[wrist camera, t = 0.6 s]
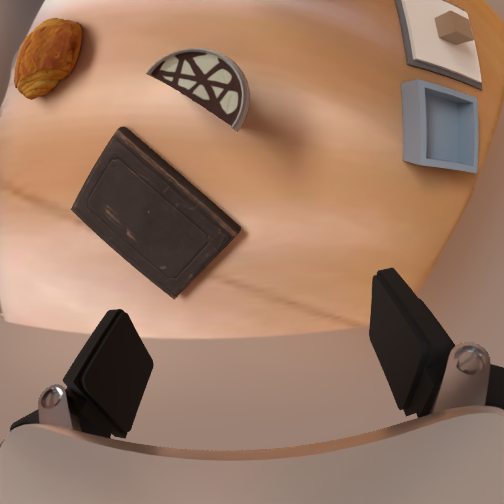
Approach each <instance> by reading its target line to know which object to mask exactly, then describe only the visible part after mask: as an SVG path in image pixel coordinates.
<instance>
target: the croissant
mask: <svg viewBox="0 0 504 504" xmlns="http://www.w3.org/2000/svg"><path fill="white" fill-rule="evenodd" d="M81 40H82V29H81V27H80V24H79V23H78V22H77V23H75V22H72V21H70V20H63V19H58V18H52V19H48V20H46V21H44V22H43V23H42V24H40V25H39V26H38V27H36V28H35V29H34V31H33V32H31V33H30V34H29V35H28V36H27V37H26V38H25V40H24V42H23V45H22V47H21V49H20V52H19V54H18V57H17V62H16V67H15V77H14V82H15V87H16V88H18V90H19V92H20V93H21V94H23V95H24V96H25V97H26V98H28V99H31V100H32V99H35V98H36V97H38V96H44V95H45V94H47V93H48V92H50V91H52V90H53V88H54V87H55V85H57V84H58V82H59V80H60V79H63V78H65V77H67V76H69V75H70V74H71V71H72V69H73V68H74V66H75V64H76V61H77V58H78V56H79V50H80V45H81Z"/></svg>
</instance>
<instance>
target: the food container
mask: <svg viewBox="0 0 504 504" xmlns="http://www.w3.org/2000/svg"><path fill="white" fill-rule="evenodd" d="M146 74H148V75H150V76H152V77H154V78H156V79H158V80H160V81H162V82H163V83H166V84H167V85H169V86H171V87H172V88H174V89H176V90H178V91H179V92H181V93H182V94H184V95H186V96H187V97H189V98H191V99H192V100H193V101H195V102H196V103H198V104H200V105H201V106H203V107H204V108H206V109H207V110H208V111H210V112H212V113H213V114H215V115H216V116H218V117H219V118H220V119H222V120H223V121H225V122H226V123H228V124H229V125H231V128H232V129H234V130H236V131H237V132H238V131H239V129H240V128H241V126H242V125H243V122H244V120H245V118H246V116H247V112H248V109H249V102H250V92H249V87H248V82H247V80H246V78H245V75H244V74H243V72H242V71H241V69H240V68H239V67H238V66H237V64H236V63H235V62H234V61H232V60H231V59H229V58H228V57H227V56H225V55H222V54H220V53H218V52H216V51H213V50H209V49H203V48H189V49H183V50H179V51H176V52H173V53H171V54H169V55H167V56H165V57H163V58H162V59H160V60H159V61H157V62H156V63H155V64H154V65H153V66H152V67H151V68H150V69H149V70H148V71H147V72H146Z"/></svg>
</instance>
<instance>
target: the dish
mask: <svg viewBox="0 0 504 504" xmlns="http://www.w3.org/2000/svg"><path fill="white" fill-rule="evenodd" d="M401 91H402V107H403V161H407V162H410V163H414V164H418V165H423V166H431V167H439V168H446V169H453V170H460V171H466V172H472V173H477V167H478V139H479V132H478V105H477V98H475V97H473V96H470V95H467V94H465V93H462V92H459V91H456V90H453V89H450V88H447V87H444V86H441V85H438V84H434V83H431V82H427V81H424V80H420V79H416V80H412V81H408V82H404V83H401Z"/></svg>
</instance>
